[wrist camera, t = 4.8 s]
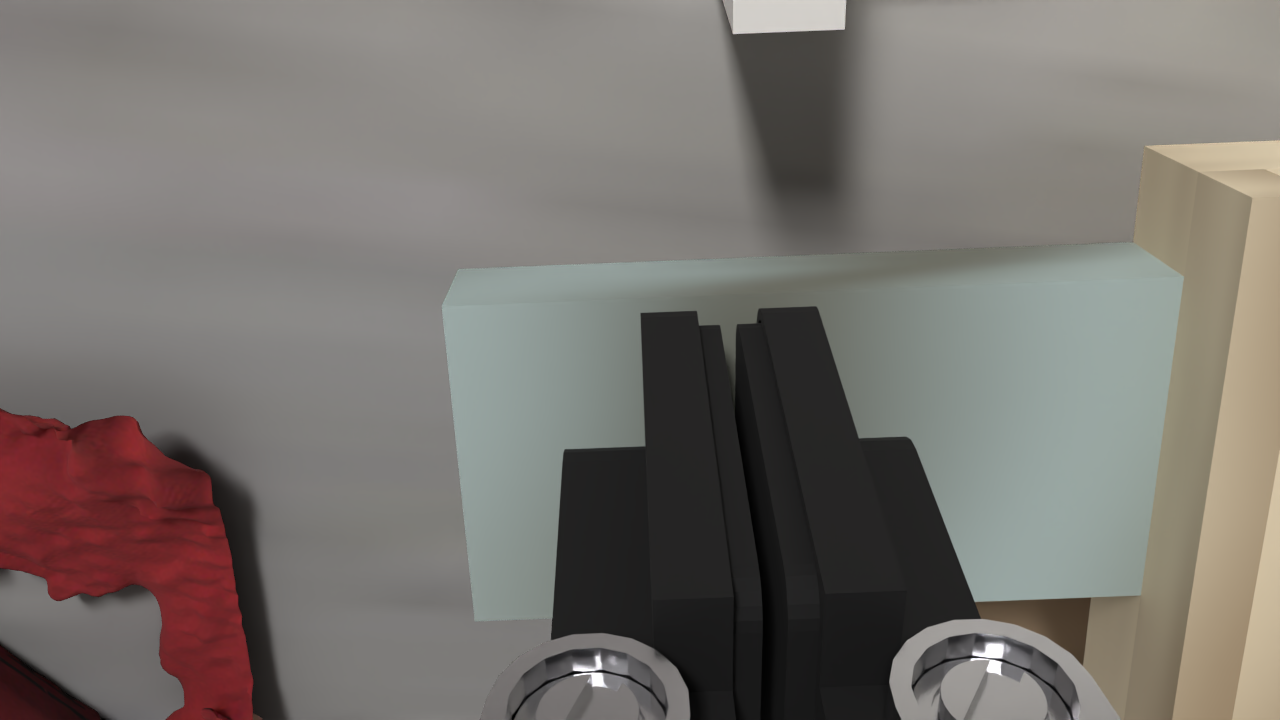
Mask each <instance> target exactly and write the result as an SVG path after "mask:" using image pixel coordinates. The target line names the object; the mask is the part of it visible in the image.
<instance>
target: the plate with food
mask: <svg viewBox="0 0 1280 720" xmlns="http://www.w3.org/2000/svg"><path fill="white" fill-rule="evenodd" d="M0 568H2V569H10V570H17V571H23V572H26V573H30V574H33V575H36V576H40V577H43V578H45V579H46V581H47V584H48V594H49V595H50V597H51V598H52V599H54V600H56V601H62V600H65V599H68V598H70V597H73V596H75V595H78V594H81V593H85V594H89V595H90V596H96V597H100V596H103V595H105V594H107V593H113V592H117V591H119V590H121V589H123V588H125V587H127V586H129V585H134V584H136V585H141V586H143V587H145V588H147V589H148V590H149V591H150V592H152V594H153V595H154V596H155V597H156V599H157V601H158V604H159V606H160V611H161V617H162V629H161V634H160V649H159V656H160V659H161V662H160V663H161V665H162V668H163V669H164V670H165V671H166V672H167V673H169V674H170V675H173V676H175V677H176V678H178V680H179V681H180V682H181V684H182V687H183V690H184V703H185V705H184V707H183V708H181V709H179V710H177V711H175V712H173V713H172V714H171V715H170V716H169V717H168V718H167V719H166V720H263V719H262V718H261V717H259V716H257V715H255V714H254V713H253V705H252V688H253V676H252V673H251V669H250V663H249V655H248V649H247V644H246V637H245V634H244V630H243V627H242V614H241V612H240V609H239V606H238V595H237V593H236V589H235V578H234V573H233V567H232V556H231V552H230V548H229V543H228V539H227V538H226V535H225V527H224V524H223V520H222V517H221V513H220V509H219V508H218V507H216V506H215V505H214V504H213V499H212V486H211V478H210V476H209V475H208V474H207V473H206V472H204V471H202V470H200V469H192V468H190V467H188V466H186V465H184V464H182V463H180V462H177V461H175V460H173V459H170V458H168V457H166V456H165V455H164V454H163V453H162V452H161V451H160V450H159V449H158V448H157V447H156V446H155V445H154V444H152V443H151V442H150V441H148V440H147V438H146V437H145V436H144V435H143V433H142V431H141V429H140V426H139V423H138V422H137V421H136V420H135V419H134V418H133V417H130V416H113V417H110V418H105V419H100V420H93V421H89V422H86V423H83V424H81V425H79V426H77V427H75V428H73V429H71V428H70V426H68V425H65V424H64V423H62V422H60V421H59V420H57V419H55V418H54V419H42V418H40V417H36V416H31V415H25V416H22V415H15V414H11V413H9V412H6V411H4V410H2V409H0ZM0 720H101V719H100V716H99V714H98V713H97V712H96V711H95V710H94V709H92V708H90V707H88V706H87V705H85V704H83V703H82V702H80V701H78V700H76V699H74V698H72V697H70V696H69V695H67V694H66V693H64V692H63V691H62V690H61V689H60V688H59V687H57V686H56V685H55V684H54V683H52V682H51V681H49V680H48V679H46V678H44V677H43V676H41V675H39V674H38V673H36V672H35V671H34V670H32V669H31V668H30V667H28V666H27V665H26V664H25V663H23V662H22V661H21V660H19V659H18V658H16V657H15V656H14V655H12V654H11V653H10V652H8V651H7V650H6V649H5V648H3V647H2V646H1V645H0Z"/></svg>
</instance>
